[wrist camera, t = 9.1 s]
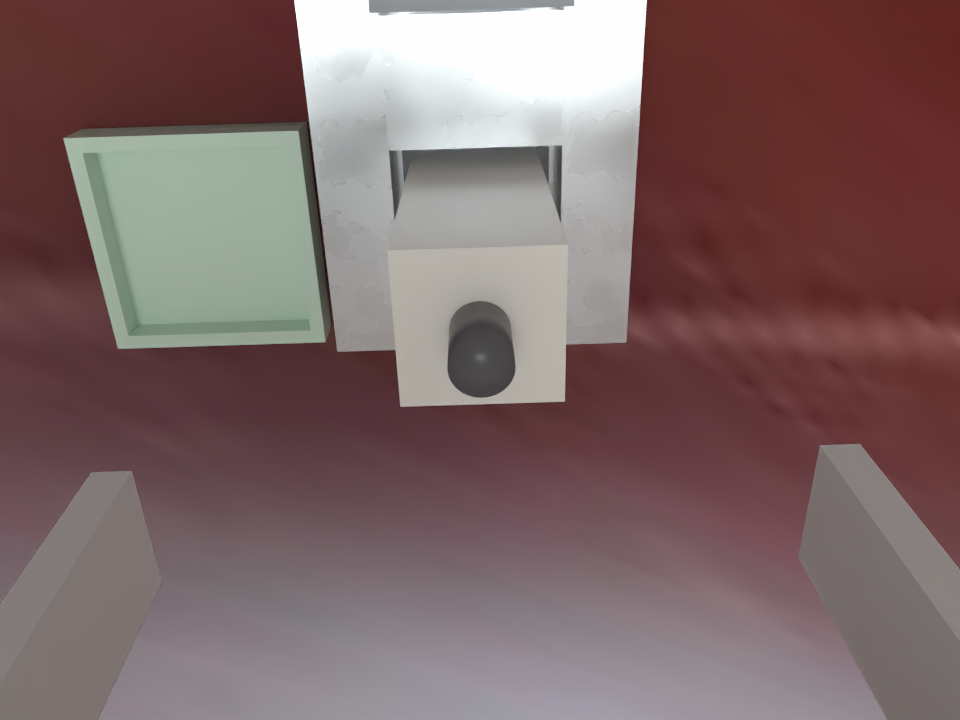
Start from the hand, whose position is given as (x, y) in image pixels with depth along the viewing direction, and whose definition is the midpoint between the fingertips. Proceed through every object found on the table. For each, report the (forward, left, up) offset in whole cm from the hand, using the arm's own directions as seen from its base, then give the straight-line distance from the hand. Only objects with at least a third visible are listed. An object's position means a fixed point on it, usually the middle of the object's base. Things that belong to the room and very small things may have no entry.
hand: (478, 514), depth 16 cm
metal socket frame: (0, +5, -22) cm, 22 cm away
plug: (0, 0, -21) cm, 21 cm away
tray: (-11, -1, -22) cm, 24 cm away
